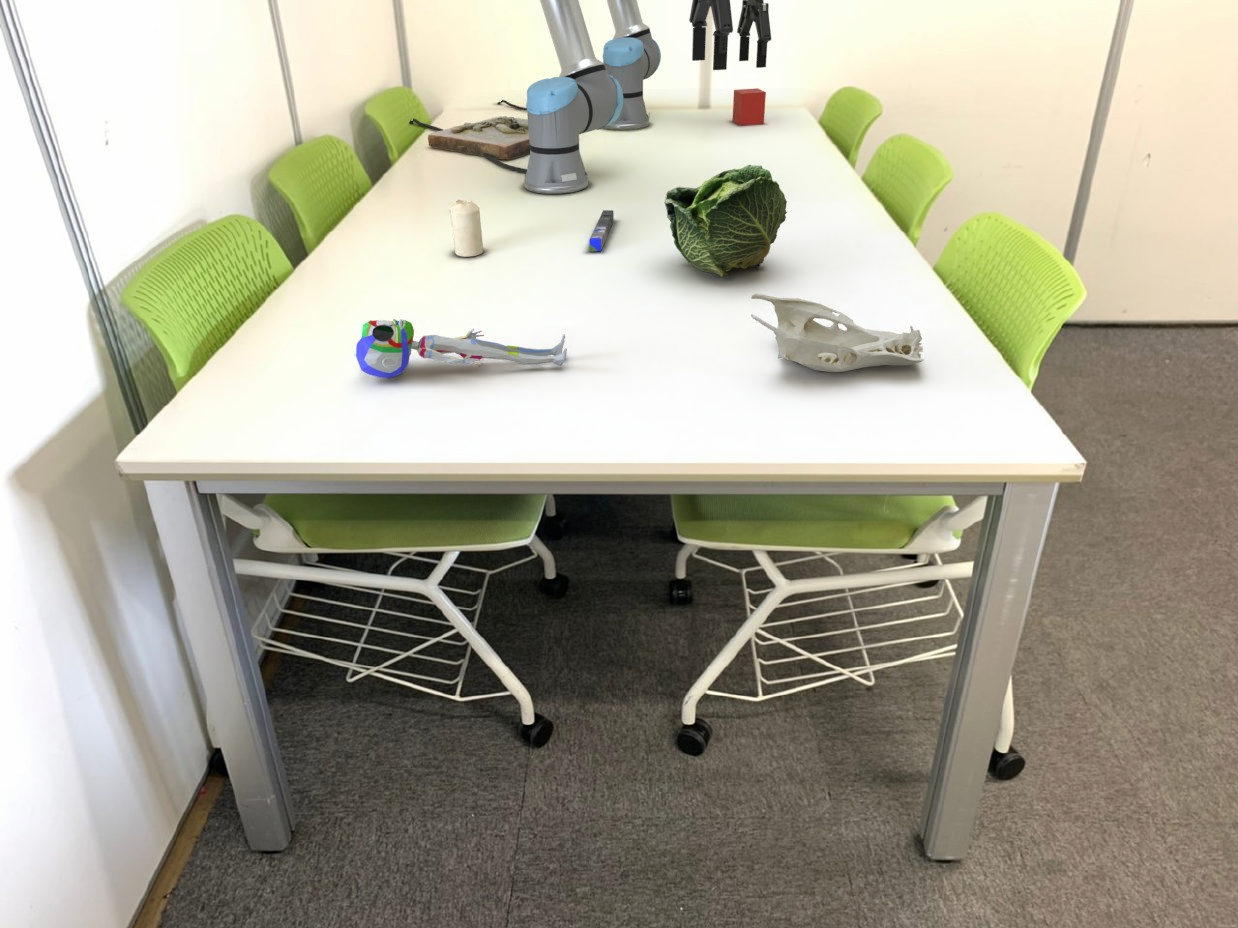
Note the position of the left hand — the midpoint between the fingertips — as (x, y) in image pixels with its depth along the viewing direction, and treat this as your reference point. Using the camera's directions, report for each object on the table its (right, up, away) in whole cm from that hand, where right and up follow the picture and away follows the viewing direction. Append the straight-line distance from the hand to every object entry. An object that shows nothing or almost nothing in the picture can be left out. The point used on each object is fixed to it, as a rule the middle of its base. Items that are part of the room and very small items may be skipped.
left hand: (708, 65), depth 192 cm
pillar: (-23, -39, -9) cm, 46 cm away
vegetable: (0, -49, -26) cm, 56 cm away
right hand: (+20, +32, +72) cm, 81 cm away
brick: (+20, +18, +80) cm, 85 cm away
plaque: (-52, +5, +62) cm, 81 cm away
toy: (-42, -71, -60) cm, 102 cm away
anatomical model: (+12, -71, -60) cm, 93 cm away
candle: (-48, -44, -16) cm, 68 cm away
